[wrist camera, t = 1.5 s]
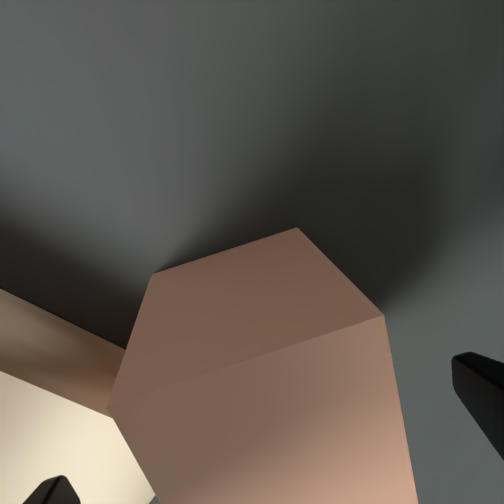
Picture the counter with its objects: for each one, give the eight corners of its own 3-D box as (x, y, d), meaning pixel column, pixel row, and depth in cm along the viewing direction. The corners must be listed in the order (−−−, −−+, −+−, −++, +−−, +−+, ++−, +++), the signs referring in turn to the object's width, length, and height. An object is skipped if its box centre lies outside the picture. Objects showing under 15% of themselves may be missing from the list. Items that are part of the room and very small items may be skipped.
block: (297, 226, 12) (383, 314, 6) (328, 348, 14) (417, 503, 8) (151, 273, 12) (105, 407, 6) (201, 390, 13) (202, 579, 8)
